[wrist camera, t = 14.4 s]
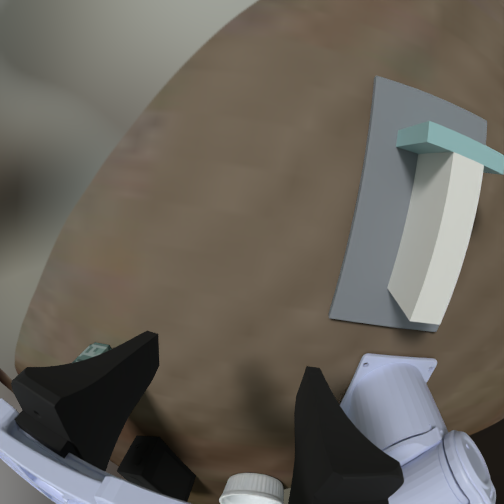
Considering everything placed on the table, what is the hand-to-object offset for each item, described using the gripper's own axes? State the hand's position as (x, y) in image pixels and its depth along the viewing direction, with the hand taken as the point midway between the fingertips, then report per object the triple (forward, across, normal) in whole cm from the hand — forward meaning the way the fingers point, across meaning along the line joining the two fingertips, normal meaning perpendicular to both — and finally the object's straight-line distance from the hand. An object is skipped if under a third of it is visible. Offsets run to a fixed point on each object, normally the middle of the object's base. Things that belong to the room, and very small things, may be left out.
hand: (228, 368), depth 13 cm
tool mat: (+9, -11, -8) cm, 17 cm away
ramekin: (+10, -5, +31) cm, 33 cm away
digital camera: (+10, +8, +30) cm, 32 cm away
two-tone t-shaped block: (+9, -11, -7) cm, 16 cm away
